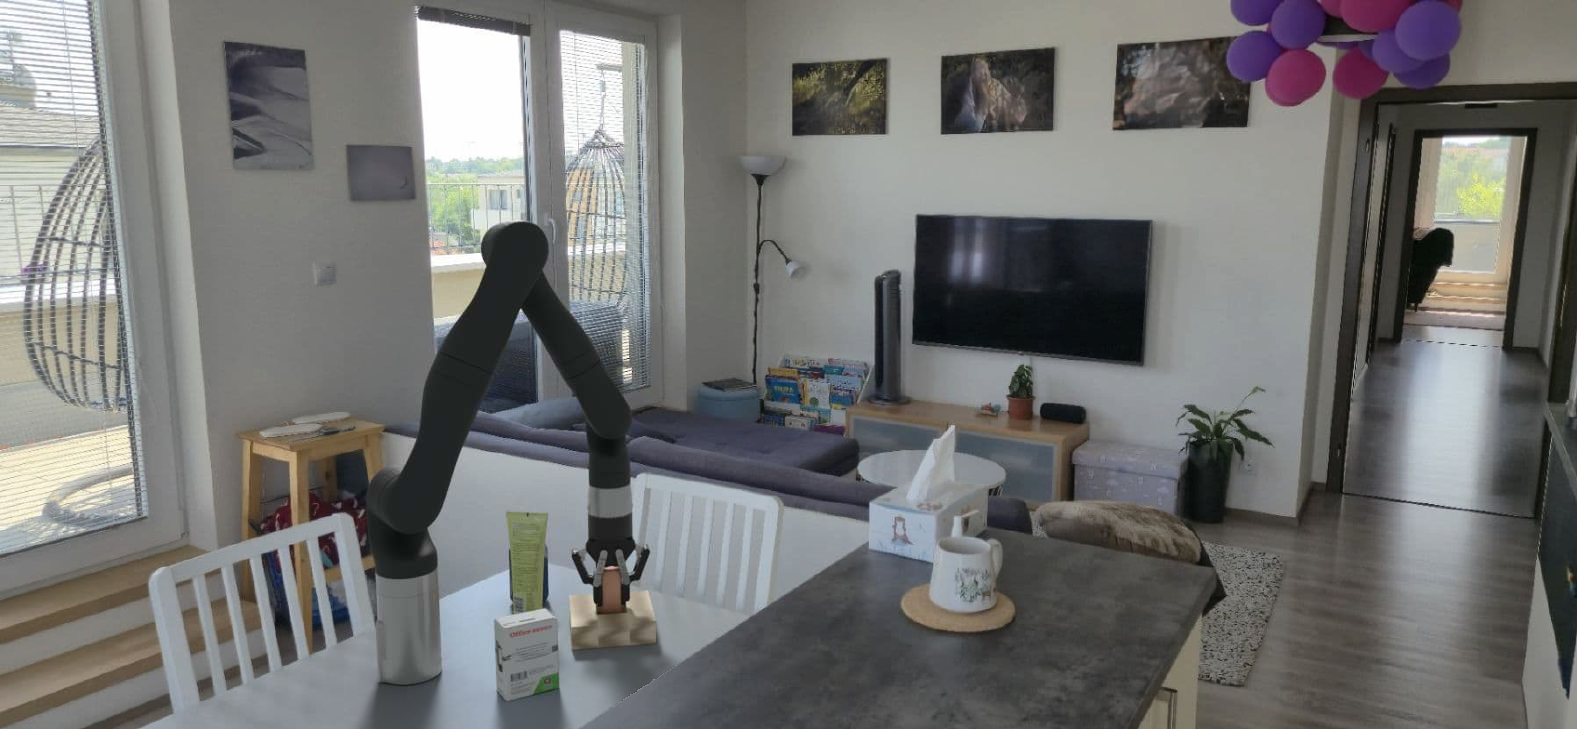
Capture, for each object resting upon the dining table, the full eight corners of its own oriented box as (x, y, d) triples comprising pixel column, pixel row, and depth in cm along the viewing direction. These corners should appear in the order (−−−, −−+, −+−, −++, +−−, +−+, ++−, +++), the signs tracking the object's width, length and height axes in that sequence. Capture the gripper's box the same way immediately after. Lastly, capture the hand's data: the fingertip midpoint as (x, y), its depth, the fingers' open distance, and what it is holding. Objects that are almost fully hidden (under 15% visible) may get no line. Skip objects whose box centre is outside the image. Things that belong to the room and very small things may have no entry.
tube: (537, 608, 202) (535, 505, 198) (550, 617, 198) (548, 512, 194) (508, 616, 198) (505, 510, 195) (521, 625, 194) (518, 518, 191)
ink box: (548, 676, 175) (547, 605, 173) (560, 689, 171) (559, 616, 169) (495, 689, 171) (492, 616, 169) (505, 702, 167) (503, 628, 165)
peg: (601, 617, 191) (601, 573, 189) (600, 609, 194) (600, 566, 193) (623, 616, 191) (622, 572, 190) (621, 608, 195) (620, 564, 193)
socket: (571, 649, 185) (571, 627, 184) (569, 616, 198) (569, 595, 198) (655, 643, 188) (655, 621, 187) (648, 611, 201) (648, 590, 201)
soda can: (555, 597, 207) (553, 535, 205) (538, 611, 200) (537, 548, 198) (520, 593, 209) (519, 532, 207) (503, 607, 202) (501, 544, 200)
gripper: (649, 500, 195) (650, 593, 198) (567, 504, 191) (569, 599, 195) (653, 513, 187) (654, 609, 190) (568, 517, 184) (570, 615, 187)
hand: (611, 603), depth 192 cm, fingers closed on peg, 3 cm apart
